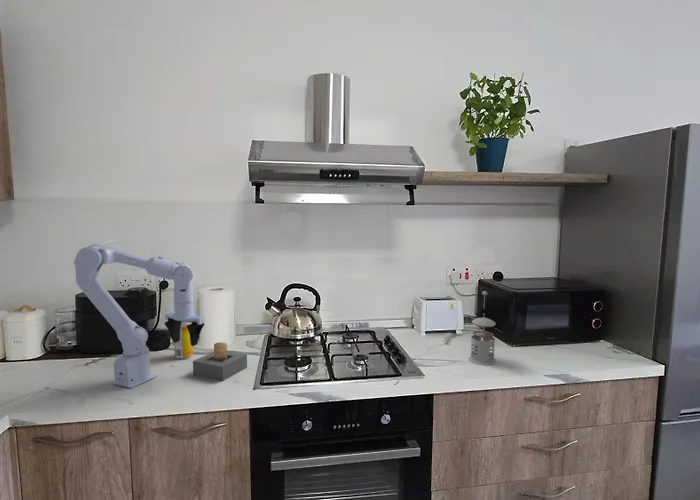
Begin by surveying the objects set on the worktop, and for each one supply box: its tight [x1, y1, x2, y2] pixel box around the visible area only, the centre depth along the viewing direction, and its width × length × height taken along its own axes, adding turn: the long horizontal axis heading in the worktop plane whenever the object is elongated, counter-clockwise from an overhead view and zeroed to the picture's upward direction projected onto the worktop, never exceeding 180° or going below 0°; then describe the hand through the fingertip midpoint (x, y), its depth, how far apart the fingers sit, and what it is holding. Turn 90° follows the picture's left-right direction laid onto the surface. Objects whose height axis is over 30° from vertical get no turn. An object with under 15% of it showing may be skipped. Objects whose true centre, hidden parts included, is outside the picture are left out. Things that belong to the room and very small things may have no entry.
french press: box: [467, 290, 497, 366], centre depth 145 cm, size 10×12×25 cm
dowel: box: [213, 341, 228, 362], centre depth 135 cm, size 4×4×8 cm
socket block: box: [192, 350, 248, 382], centre depth 135 cm, size 12×12×4 cm
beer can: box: [173, 321, 194, 360], centre depth 147 cm, size 6×6×15 cm
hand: (185, 343), depth 132 cm, fingers open, 7 cm apart
